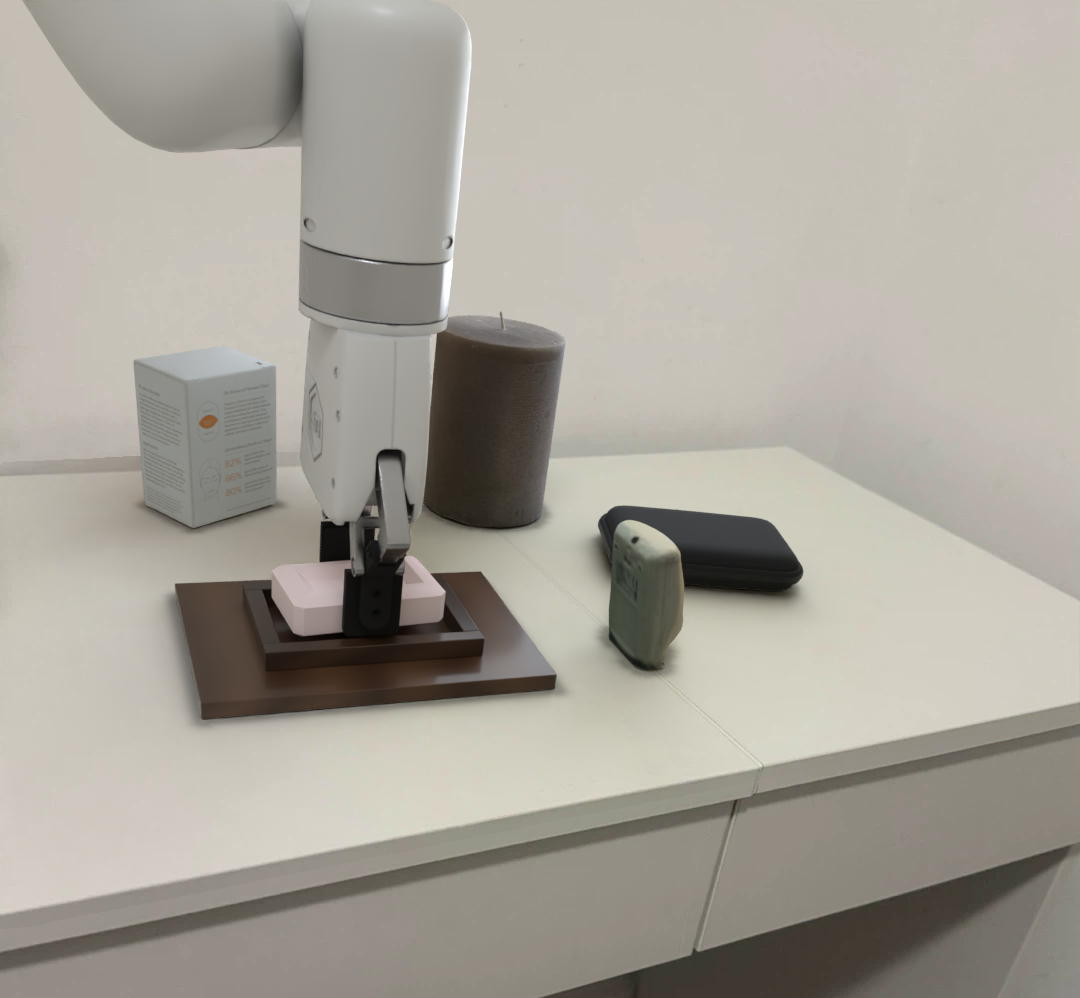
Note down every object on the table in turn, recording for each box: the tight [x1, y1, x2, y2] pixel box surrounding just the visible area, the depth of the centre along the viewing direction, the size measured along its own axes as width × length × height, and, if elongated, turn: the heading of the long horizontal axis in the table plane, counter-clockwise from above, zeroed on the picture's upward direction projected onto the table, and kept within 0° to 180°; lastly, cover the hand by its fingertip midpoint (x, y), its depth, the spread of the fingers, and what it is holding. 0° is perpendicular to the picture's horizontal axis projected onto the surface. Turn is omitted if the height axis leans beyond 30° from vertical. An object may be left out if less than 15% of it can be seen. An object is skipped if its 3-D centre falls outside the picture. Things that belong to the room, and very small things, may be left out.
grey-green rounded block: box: [608, 520, 685, 671], centre depth 66 cm, size 6×5×8 cm
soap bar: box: [271, 555, 446, 637], centre depth 62 cm, size 5×9×2 cm, turn 117°
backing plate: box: [174, 571, 558, 720], centre depth 63 cm, size 20×14×2 cm
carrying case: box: [597, 505, 804, 592], centre depth 81 cm, size 11×3×15 cm
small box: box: [133, 345, 278, 529], centre depth 75 cm, size 8×6×10 cm
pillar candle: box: [423, 310, 566, 528], centre depth 82 cm, size 10×10×15 cm
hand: (357, 604), depth 63 cm, fingers closed on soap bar, 5 cm apart
